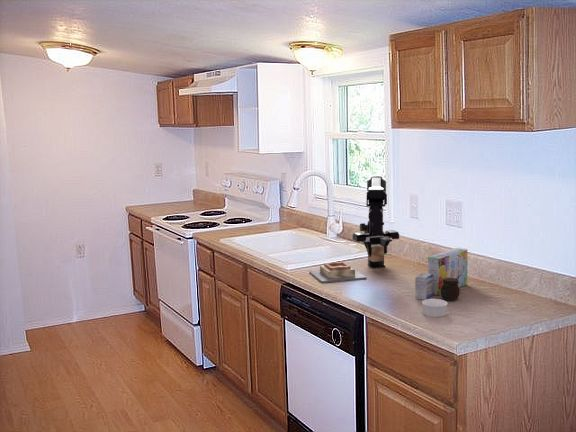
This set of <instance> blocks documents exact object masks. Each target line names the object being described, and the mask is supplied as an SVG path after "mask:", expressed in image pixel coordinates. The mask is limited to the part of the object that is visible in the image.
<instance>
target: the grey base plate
mask: <svg viewBox="0 0 576 432" xmlns="http://www.w3.org/2000/svg"><path fill="white" fill-rule="evenodd" d="M308 274H310V275H311V276H312V277H314V278H315V279H316V280H317V281H319V282H320V283H321V284H324V283H325V284H326V283H336V282H339V283H340V282H348V281H360V280H366V279H367V276H365V275H364V274H362V273H361V272H360V271H357V270H356V269H355V276H353V277H342V278H330V279H328V278H327V277H326V276H325V275H323V274H322V273H321V272H320V269H319V270H310V271H309V273H308Z"/></svg>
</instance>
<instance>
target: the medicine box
mask: <svg viewBox="0 0 576 432" xmlns="http://www.w3.org/2000/svg"><path fill="white" fill-rule="evenodd" d="M414 279H415V281H414V283H415V284H414V292H415V294H414V298H415V299H416V300H422V301H423V300H426V299H430V298H431V297H432V296H433V295H434V294H433V274H430V273H428V272H422V273H420V274H419V275H417V276H415V277H414Z"/></svg>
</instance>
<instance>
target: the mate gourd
mask: <svg viewBox="0 0 576 432" xmlns="http://www.w3.org/2000/svg"><path fill="white" fill-rule="evenodd" d="M461 275H462V274H460V275H459V276H458V277H457V278H451V277H447V278H444V279H443V285H442V287H441V290H440V292H441V295H440V296H441V298H442V300H444V301H446V302H448V301H449V302H455V301H457V299H459V297H460V294H461V290H460V288H459V287H458V278H459V277H460V276H461Z"/></svg>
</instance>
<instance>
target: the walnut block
mask: <svg viewBox="0 0 576 432" xmlns="http://www.w3.org/2000/svg"><path fill="white" fill-rule="evenodd" d="M368 260H370V261H372V262H377V261H384V262H385V254H384V246H382V245H380V244H377V245H371V257H369V255H368V254H367V261H368Z"/></svg>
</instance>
